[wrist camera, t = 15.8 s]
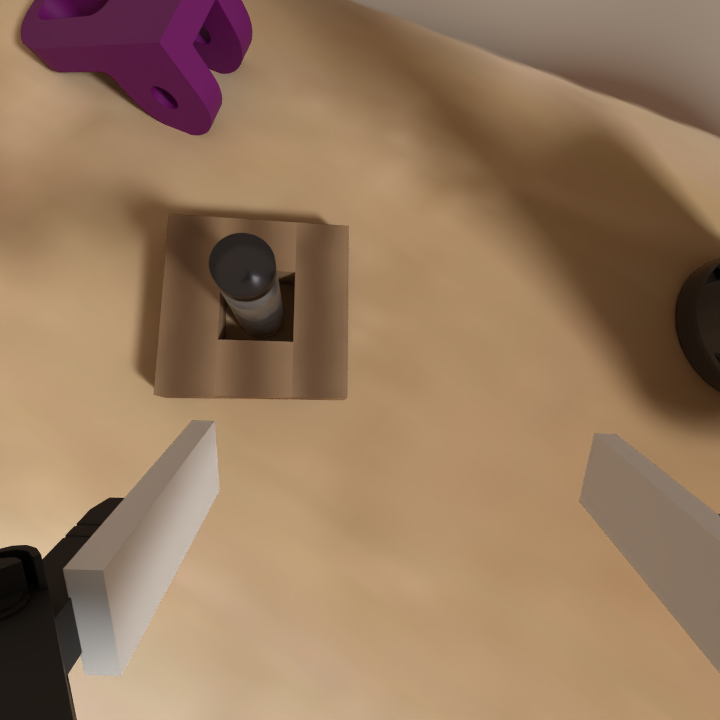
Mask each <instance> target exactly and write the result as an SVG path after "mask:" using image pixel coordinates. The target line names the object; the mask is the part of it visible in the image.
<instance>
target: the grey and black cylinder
mask: <svg viewBox="0 0 720 720" xmlns="http://www.w3.org/2000/svg"><path fill="white" fill-rule="evenodd" d="M209 270H210V273H211V276H212V278H213V279H214V281H215V283H216V285H217V286H218V288H219V290H220V291H221V293H222V295H223V296H224V298H225V300H226V301H227V303H228V305H229V307H230V308H231V310H232V312H233V313H234V315H235V317H236V318H237V320H238V322H239V323H240V325H241V327H242V328H243V329H244V330H245V331H246V332H247V333H248V334H250V335H253V336H256V337H266V336H270V335H272V334H274V333H275V332H276V331H277V330H278V329H279V328H280V327H281V325H282V323H283V319H284V311H283V305H282V299H281V293H280V286H279V280H278V274H277V268H276V261H275V256H274V253H273V251H272V249H271V248H270V246H269V245H268V244H267V243H266V242H265V241H264V240H263V239H261V238H260V237H258V236H255V235H253V234H249V233H235V234H231V235H228V236H226V237H224V238H223V239H221V240H220V241H219V242H218V243H217V244H216V245H215V246H214V248H213V249H212V251H211V253H210V257H209Z"/></svg>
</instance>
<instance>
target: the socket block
mask: <svg viewBox="0 0 720 720" xmlns="http://www.w3.org/2000/svg"><path fill="white" fill-rule="evenodd" d="M235 233H249V234H253V235H255V236H258V237H260V238H261V239H263V240H264V241H265V242H266V243H267V244H268V245H269V246H270V248H271V249H272V251H273V253H274V256H275V261H276V268H277V274H278V280H279V283H282V284H295V298H294V331H293V342H283V341H250V340H225V325H226V307H227V301H226V300H225V298H224V296H223V295H222V293H221V291H220V290H219V288H218V286H217V285H216V283H215V281H214V279H213V278H212V276H211V273H210V270H209V257H210V253H211V251H212V249H213V248H214V246H215V245H216V244H217V243H218V242H219V241H220V240H221V239H223V238H224V237H226V236H228V235H231V234H235ZM348 254H349V226H343V225H328V224H313V223H298V222H283V221H269V220H254V219H239V218H224V217H209V216H194V215H180V214H169V217H168V228H167V240H166V252H165V264H164V276H163V288H162V300H161V312H160V324H159V336H158V348H157V360H156V372H155V384H154V395H157V396H161V397H165V398H229V399H305V400H344V399H346V398H347V369H348Z"/></svg>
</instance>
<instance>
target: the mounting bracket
mask: <svg viewBox="0 0 720 720" xmlns="http://www.w3.org/2000/svg"><path fill="white" fill-rule="evenodd" d="M82 16H83V17H82ZM21 38H22V41H23V43H24V44H25V45H26V46H27V47H28V48H29V49H30V50H31V51H32V52H33V53H34V54H35V55H36V56H37V57H38V58H40V59H41V60H42V61H43V62H44V63H45V64H46V65H47V66H48V67H49V68H50V69H51V70H53V71H56V72H97V71H101V72H104V73H106V74H108V75H109V76H111V77H112V78H113V79H114V80H115V81H116V82H117V83H118V84H119V85H120V86H121V87H122V89H123V90H124V91H125V92H126V93H127V94H128V95H129V96H130V97H131V98H132V99H133V100H134V102H135V103H137V104H138V105H139V106H140V107H141V108H142V109H143V110H144V111H146V112H147V113H148V114H149V115H151V116H152V117H154V118H155V119H156V120H158V121H160V122H161V123H163V124H165V125H168V126H170V127H173V128H175V129H178V130H180V131H183V132H186V133H188V134H191V135H202V134H205V133H207V132H208V131H209V130H210V128H211V126H212V124H213V121H214V119H215V117H216V115H217V113H218V111H219V109H220V107H221V104H222V94H221V90H220V88H219V85H218V83H217V81H216V79H215V78H214V76H213V74H212V73H211V71H210V70H209V69H211V70H213V71H216V72H218V73H222V74H227V73H231V72H234V71H235V70H237V69H238V68H239V66H240V64H241V62H242V60H243V58H244V56H245V54H246V52H247V50H248V47H249V45H250V43H251V40H252V25H251V21H250V18H249V15H248V13H247V10H246V8H245V6H244V4H243V2H242V0H35V1H34V2H33V4H32V5H31V7H30V8H29V10H28V12H27V13H26V15H25V18H24V20H23V23H22V27H21Z"/></svg>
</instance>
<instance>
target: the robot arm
mask: <svg viewBox="0 0 720 720" xmlns="http://www.w3.org/2000/svg"><path fill="white" fill-rule="evenodd" d="M676 321H677V330H678V334H679V338H680V342H681V344H682V347H683V349H684V352H685V354H686V356H687V358H688V359H689V361H690V363H691V364H692V366H693V367H694V368H695V370H696V371H697V372H698V373H699V374H700V376H701V377H702V378H703V379H704V380H705V381H707V382H708V383H709V384H710V385H711V386H713V387H714V388H716V389H717V390H719V391H720V258H719V259H717V260H715V261H712V262H710V263H707V264H705V265H703V266H701V267H700V268H698V269H697V270H696V271H695V272H694V273H693V274H692V275H691V276H690V277H689V278H688V279H687V281H686V282H685V284H684V286H683V288H682V290H681V292H680V295H679V299H678V303H677V311H676ZM218 493H219V476H218V461H217V446H216V432H215V421H200V420H192V421H191V422H190V423H189V425H188V426H187V427H186V428H185V429H184V430H183V431H182V433H181V434H180V435H179V436H178V437H177V438H176V440H175V441H174V442H173V443H172V444H171V445H170V446H169V448H168V449H167V450H166V451H165V452H164V453H163V454H162V456H161V457H160V458H159V459H158V460H157V461H156V463H155V464H154V465H153V466H152V467H151V468H150V469H149V471H148V472H147V473H146V474H145V475H144V476H143V478H142V479H141V480H140V481H139V482H138V483H137V484H136V486H135V487H134V488H133V489H132V490H131V491H130V492H129V494H128V495H127V496H126V497H125V498H108V499H106V500H105V501H103V502H102V503H100V504H98V505H97V506H95V507H93V508H92V509H90V510H89V511H88V512H87V513H86V515H85V516H84V517H83V518H82V519H81V520H80V521H79V522H78V523H77V526H74V527H73V528H72V529H71V530H70V531H69V532H68V533H67V534H66V537H65V538H63V539H62V540H61V541H60V542H59V543H58V544H57V545H56V546H55V547H54V548H53V549H52V550H51V551H50V552H49V553H48V554H47V555H46V556H45V557H44V558H43V559H42V557H41V554H40V552H39V551H38V550H37V548H35V547H31V546H28V545H18V546H9V547H5V548H2V549H0V720H77V719H76V713H75V708H74V703H73V698H72V693H71V688H70V683H69V679H68V673H69V672H70V670H71V669H72V667H73V666H74V664H75V662H76V661H77V659H78V658H79V656H80V655H81V659H82V664H83V669H84V674H85V675H101V676H122V674H123V672H124V670H125V668H126V666H127V664H128V663H129V661H130V659H131V657H132V655H133V653H134V651H135V649H136V647H137V646H138V644H139V642H140V640H141V638H142V636H143V634H144V632H145V630H146V629H147V627H148V625H149V623H150V621H151V619H152V617H153V615H154V613H155V612H156V610H157V608H158V606H159V604H160V602H161V600H162V598H163V596H164V595H165V593H166V591H167V589H168V587H169V585H170V583H171V581H172V579H173V578H174V576H175V574H176V572H177V570H178V568H179V566H180V564H181V562H182V561H183V559H184V557H185V555H186V553H187V551H188V549H189V547H190V545H191V544H192V542H193V540H194V538H195V536H196V534H197V532H198V530H199V528H200V527H201V525H202V523H203V521H204V519H205V517H206V515H207V513H208V511H209V510H210V508H211V506H212V504H213V502H214V500H215V498H216V496H217V494H218ZM579 502H580V503H581V504H582V505H583V507H584V508H585V509H586V510H587V512H588V513H589V514H590V515H591V516H592V518H593V519H594V520H595V521H596V523H597V524H598V525H599V526H600V527H601V529H602V530H603V531H604V532H605V534H606V535H607V536H608V537H609V538H610V540H611V541H612V542H613V543H614V545H615V546H616V547H617V548H618V549H619V551H620V552H621V553H622V554H623V556H624V557H625V558H626V559H627V560H628V562H629V563H630V564H631V565H632V567H633V568H634V569H635V570H636V571H637V573H638V574H639V575H640V576H641V578H642V579H643V580H644V581H645V582H646V584H647V585H648V586H649V587H650V589H651V590H652V591H653V592H654V593H655V595H656V596H657V597H658V598H659V600H660V601H661V602H662V603H663V604H664V606H665V607H666V608H667V609H668V611H669V612H670V613H671V614H672V615H673V617H674V618H675V619H676V620H677V622H678V623H679V624H680V625H681V626H682V628H683V629H684V630H685V631H686V632H687V634H688V635H689V636H690V637H691V639H692V640H693V641H694V642H695V643H696V645H697V646H698V647H699V648H700V650H701V651H702V652H703V653H704V654H705V656H706V657H707V658H708V659H709V661H710V662H711V663H712V664H713V665H714V667H715V668H716V669H717V670H718V672H719V673H720V514H717V513H716V512H714V511H713V510H712V509H711V508H709V507H708V506H707V505H706V504H704V503H703V502H702V501H700V500H699V499H698V498H697V497H695V496H694V495H693V494H692V493H690V492H689V491H688V490H686V489H685V488H684V487H683V486H681V485H680V484H679V483H678V482H676V481H675V480H674V479H673V478H671V477H670V476H669V475H667V474H666V473H665V472H664V471H662V470H661V469H660V468H659V467H657V466H656V465H655V464H653V463H652V462H651V461H650V460H648V459H647V458H646V457H645V456H643V455H642V454H641V453H639V452H638V451H637V450H636V449H634V448H633V447H632V446H631V445H629V444H628V443H627V442H626V441H624V440H623V439H622V438H620V437H619V436H618V435H617V434H598V433H594V437H593V442H592V446H591V451H590V455H589V460H588V464H587V469H586V473H585V477H584V482H583V486H582V491H581V495H580V500H579Z"/></svg>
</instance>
